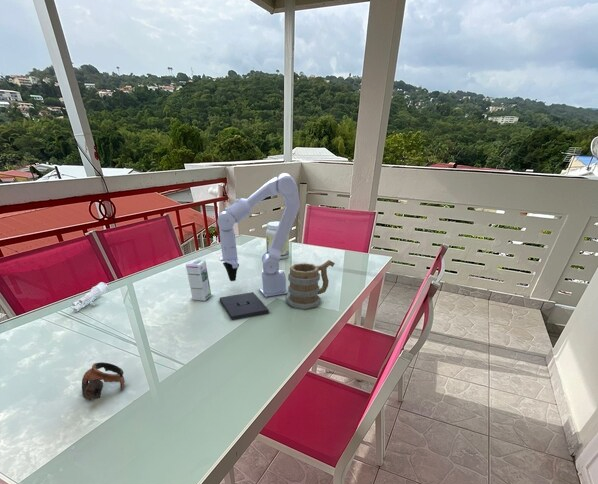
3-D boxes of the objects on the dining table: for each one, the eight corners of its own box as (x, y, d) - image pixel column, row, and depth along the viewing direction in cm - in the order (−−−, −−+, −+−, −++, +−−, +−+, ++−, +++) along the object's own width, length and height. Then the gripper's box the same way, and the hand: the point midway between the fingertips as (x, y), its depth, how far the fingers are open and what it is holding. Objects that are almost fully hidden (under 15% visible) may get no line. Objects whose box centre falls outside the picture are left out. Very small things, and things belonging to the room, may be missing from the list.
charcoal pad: (259, 302, 131) (259, 299, 130) (268, 313, 123) (268, 309, 122) (225, 308, 126) (224, 305, 125) (232, 320, 118) (231, 316, 118)
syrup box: (205, 301, 131) (199, 265, 123) (191, 299, 132) (185, 263, 124) (211, 295, 136) (206, 260, 127) (198, 294, 137) (192, 259, 128)
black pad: (253, 295, 137) (253, 292, 136) (261, 305, 129) (261, 301, 128) (219, 300, 132) (219, 297, 131) (226, 311, 124) (225, 307, 123)
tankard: (296, 311, 125) (297, 272, 116) (282, 299, 134) (281, 262, 125) (340, 301, 132) (344, 264, 124) (324, 290, 142) (326, 255, 133)
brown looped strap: (86, 384, 88) (94, 356, 86) (123, 394, 91) (132, 368, 89) (66, 404, 77) (75, 373, 75) (109, 415, 80) (119, 385, 78)
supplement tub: (266, 253, 184) (265, 221, 174) (288, 252, 185) (288, 220, 176) (267, 260, 174) (265, 226, 164) (290, 259, 175) (290, 226, 166)
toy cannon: (81, 316, 123) (67, 306, 121) (103, 301, 134) (91, 292, 132) (89, 303, 119) (76, 293, 117) (112, 288, 130) (100, 279, 129)
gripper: (214, 242, 130) (218, 276, 138) (223, 252, 120) (227, 288, 127) (231, 240, 133) (235, 273, 141) (241, 250, 122) (245, 285, 130)
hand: (232, 280), depth 134 cm, fingers closed
